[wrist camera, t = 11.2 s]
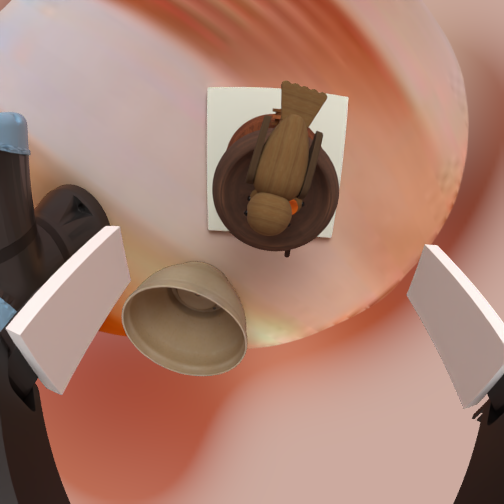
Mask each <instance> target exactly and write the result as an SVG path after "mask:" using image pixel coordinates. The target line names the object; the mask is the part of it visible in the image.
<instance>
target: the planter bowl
mask: <svg viewBox="0 0 504 504" xmlns="http://www.w3.org/2000/svg"><path fill="white" fill-rule="evenodd" d="M197 294H198V295H197ZM122 323H123V327H124V330H125V332H126V334H127V336H128V338H129V339H130V341H131V342H132V343H133V345H134V346H135V347H136V348H137V349H138V350H139V351H140V352H141V353H142V354H144V355H145V356H146V357H147V358H149V359H150V360H152V361H153V362H155V363H156V364H158V365H160V366H162V367H164V368H167V369H169V370H172V371H175V372H178V373H181V374H186V375H194V376H212V375H218V374H222V373H225V372H227V371H229V370H231V369H233V368H234V367H236V366H237V365H238V364H239V363H240V362H241V360H242V359H243V358H244V356H245V354H246V350H247V334H246V319H245V313H244V309H243V306H242V304H241V301H240V299H239V297H238V295H237V293H236V291H235V290H234V288H233V287H232V286H231V284H230V283H229V282H228V280H227V278H226V277H225V276H224V274H223V273H222V272H221V271H219V270H218V269H217V268H215V267H214V266H212V265H209V264H206V263H203V262H187V263H183V264H177V265H173V266H169V267H166V268H164V269H161V270H159V271H157V272H156V273H154V274H152V275H151V276H150V277H148V278H147V279H146V280H145V281H144V282H143V283H142V284H141V285H140V286H139V287H138V288H137V290H135V291H134V292H133V293H132V294H131V295H130V296H129V297H128V299H127V300H126V302H125V303H124V306H123V309H122Z"/></svg>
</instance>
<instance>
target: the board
mask: <svg viewBox="0 0 504 504" xmlns="http://www.w3.org/2000/svg"><path fill="white" fill-rule="evenodd" d="M326 95H327V100H326V101H325V103H324V104H323V106H322V107H321V109H320V110H319V112H318V114H317V115H316V117H315V118H314V120H313V121H312V123H311V125H310V126H309V128H310V129H311V130H312V131H313V132H314V134H315V133H316V131H319V132H322V133H323V139H322V144H321V147H322V149H323V150H324V151H325V152H326V153H327V155H328V156H329V158H330V159H331V161H332V163H333V165H334V167H335V170H336V173H337V177H338V182H339V186H340V179H341V171H342V163H343V154H344V145H345V134H346V123H347V111H348V97H344V96H339V95H332V94H326ZM273 108H275V109H281V89H278V88H258V87H211V88H208V96H207V207H208V230H216V231H229V230H228V229H227V228H226V227H225V226H224V224H223V223H222V221H221V220H220V218H219V216H218V214H217V212H216V209H215V206H214V201H213V195H212V183H213V177H214V173H215V170H216V167H217V165H218V163H219V161H220V159H221V157H222V156H223V154H224V153H225V152H226V150H227V147H228V144H229V141H230V139H231V138H232V136H233V135H234V133H235V132H236V131H237V130H238V128H240V127H241V126H242V125H243V124H244V123H246V122H247V121H249V120H251V119H253V118H255V117H258V116H261V115H265V114H275V113H276V112H273V111H272V110H273ZM335 213H336V210H335ZM335 213H334V215H333V217H332V219H331V221H330V223H329V224H328V225H327V227H326V228H325V229H324V230H323V231H322V232H321V233H320V234H319V235H318V236H317V237H327V238H331V237H332V231H333V226H334V219H335Z"/></svg>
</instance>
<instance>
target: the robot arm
mask: <svg viewBox="0 0 504 504" xmlns="http://www.w3.org/2000/svg"><path fill="white" fill-rule="evenodd" d="M29 155H30V150H29V148H28V130H27V122H26V119H25V118H24V116H23V115H21V114H19V113H14V112H2V113H0V504H70V502H69V499H68V497H67V494H66V492H65V490H64V487H63V484H62V481H61V479H60V476H59V473H58V470H57V467H56V464H55V461H54V458H53V454H52V451H51V447H50V443H49V440H48V436H47V431H46V427H45V422H44V418H43V412H42V407H41V401H40V395H39V390H38V387H37V385H36V384H35V382H36V380H37V378H39V379H40V381H41V382H42V383H43V384H44V386H45V387H46V388H47V389H50V390H52V391H54V392H56V393H58V394H61V395H62V394H63V392H64V390H65V388H66V387H67V385H68V383H69V381H70V379H71V377H72V375H73V373H74V371H75V370H76V368H77V366H78V364H79V363H80V361H81V359H82V357H83V355H84V354H85V352H86V350H87V348H88V347H89V345H90V343H91V342H92V340H93V339H94V337H95V335H96V333H97V332H98V330H99V329H100V327H101V325H102V324H103V322H104V321H105V319H106V317H107V316H108V314H109V313H110V311H111V310H112V308H113V306H114V305H115V303H116V302H117V300H118V299H119V297H120V296H121V294H122V293H123V291H124V290H125V288H126V287H127V285H128V284H129V283H130V281H131V279H130V274H129V270H128V265H127V261H126V256H125V251H124V246H123V241H122V235H121V230H120V226H110V225H109V222H108V219H107V217H106V214H105V212H104V210H103V209H102V207H101V206H100V204H99V203H98V201H97V200H96V199H95V198H94V197H93V196H92V195H91V194H90V193H89V192H87V191H86V190H85V189H83V188H81V187H78V186H75V185H62V186H60V187H58V188H56V189H54V190H52V191H50V192H49V193H48V194H47V195H46V196H45V197H44V198H43V199H42V200H41V202H40V203H39V204H38V206H37V207H36V208H35V209H34V207H33V201H32V192H31V182H30V170H29ZM407 297H408V298H409V300H410V302H411V303H412V305H413V307H414V308H415V310H416V312H417V313H418V315H419V317H420V319H421V321H422V323H423V324H424V326H425V328H426V330H427V332H428V333H429V335H430V337H431V339H432V341H433V343H434V345H435V347H436V349H437V351H438V353H439V355H440V357H441V359H442V361H443V363H444V365H445V367H446V369H447V371H448V373H449V376H450V378H451V380H452V382H453V385H454V387H455V389H456V391H457V394H458V396H459V399H460V401H461V404H462V406H463V409H465V408H468V407H471V406H473V405H476V404H478V403H479V402H480V401H481V399H483V397H484V396H485V395H486V394H488V397H489V399H488V401H487V402H486V403H485V404H484V405H483V406H482V407H481V408H480V409H479V410H478V411H476V413H474V415H473V417H472V419H475V418H476V417H477V416H478V415H479V414H480V413H483V414H482V415H481V416H480V417H479V418H478V419H477V421H479V422H481V423H480V427H479V432H478V436H477V439H476V443H475V447H474V450H473V453H472V457H471V460H470V463H469V466H468V469H467V472H466V475H465V477H464V480H463V482H462V485H461V487H460V490H459V492H458V495H457V497H456V499H455V501H454V504H504V323H503V322H502V320H501V319H500V318H499V316H498V315H497V314H496V312H495V311H494V310H493V309H492V307H491V306H490V304H489V303H488V302H487V301H486V299H485V298H484V297H483V296H482V294H481V293H480V292H479V291H478V290H477V288H476V287H475V286H474V285H473V284H472V283H471V281H470V280H469V279H468V278H467V277H466V276H465V275H464V273H463V272H462V271H461V270H460V269H459V268H458V267H457V266H456V265H455V264H454V262H453V261H452V260H451V259H450V258H449V257H448V256H447V255H446V254H445V253H444V252H443V251H442V250H441V249H440V248H439V247H438V246H437V245H427V244H425V245H424V248H423V251H422V254H421V257H420V260H419V263H418V266H417V269H416V272H415V274H414V277H413V280H412V282H411V286H410V288H409V290H408V293H407Z"/></svg>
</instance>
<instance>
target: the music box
mask: <svg viewBox="0 0 504 504" xmlns="http://www.w3.org/2000/svg"><path fill="white" fill-rule="evenodd" d="M326 100H327V95H326V94H325V93H323V92H321V93H319V92H318V91H317V90H315V89H312V90H310V89H309V88H308V87H306V86H303V87H301V86H299V85H298V84H296V83H294V84H291V83H290V82H289V81H283V82H282V84H281V109H275V108H273V110H272V111H273V112H276V113H275V114H265V115H261V116H258V117H255V118H253V119H251V120H249V121H247V122H246V123H244V124H243V125H242V126H241V127H240V128H238V130H237V131H236V132H235V133H234V135H233V136H232V138H231V139H230V141H229V144H228V147H227V150H226V152H225V153H224V154H223V156H222V157H221V159H220V161H219V163H218V165H217V167H216V170H215V173H214V177H213V183H212V195H213V201H214V206H215V209H216V212H217V214H218V216H219V218H220V220H221V221H222V223H223V224H224V226H225V227H226V228H227V229H228V230H229V232H230V233H231V234H233V235H234V236H235V237H236V238H238V239H239V240H240V241H242V242H244V243H245V244H247V245H250V246H252V247H255V248H258V249H262V250H267V251H285V257H289V255H290V250H291V249H294V248H298V247H300V246H303V245H305V244H307V243H308V242H310V241H312V240H313V239H315V238H316V237H317V236H318V235H319V234H320V233H321V232H322V231H323V230H324V229H325V228H326V227H327V225H328V224H329V223H330V221H331V219H332V217H333V215H334V213H335V210H336V207H337V204H338V198H339V182H338V177H337V173H336V170H335V167H334V165H333V163H332V161H331V159H330V158H329V156H328V155H327V153H326V152H325V151H324V150H323V149H322V147H321V144H322V139H323V133H322V132H319V131H316V133H315V134H314V132H313V131H312V130H311V129H310V128H309V126H310V125H311V123H312V121H313V120H314V118H315V117H316V115H317V114H318V112H319V110H320V109H321V107H322V106H323V104H324V103H325V101H326Z"/></svg>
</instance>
